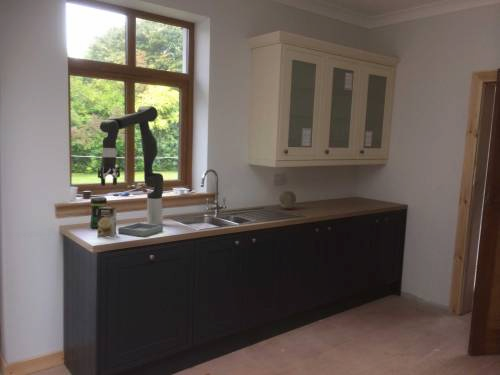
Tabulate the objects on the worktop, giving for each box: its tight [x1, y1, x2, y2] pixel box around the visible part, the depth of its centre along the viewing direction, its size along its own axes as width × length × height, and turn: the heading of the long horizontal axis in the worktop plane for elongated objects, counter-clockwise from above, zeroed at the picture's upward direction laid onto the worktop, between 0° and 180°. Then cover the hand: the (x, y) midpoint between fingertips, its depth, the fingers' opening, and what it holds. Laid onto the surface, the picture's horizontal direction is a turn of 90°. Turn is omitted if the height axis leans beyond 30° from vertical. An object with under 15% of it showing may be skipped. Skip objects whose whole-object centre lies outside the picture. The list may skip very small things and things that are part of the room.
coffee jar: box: [89, 196, 108, 229], centre depth 263 cm, size 10×8×19 cm
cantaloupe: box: [279, 190, 297, 210], centre depth 358 cm, size 14×14×15 cm
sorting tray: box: [117, 222, 164, 238], centre depth 253 cm, size 18×18×4 cm
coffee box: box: [97, 206, 117, 238], centre depth 242 cm, size 9×6×16 cm
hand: (109, 185), depth 241 cm, fingers open, 8 cm apart
